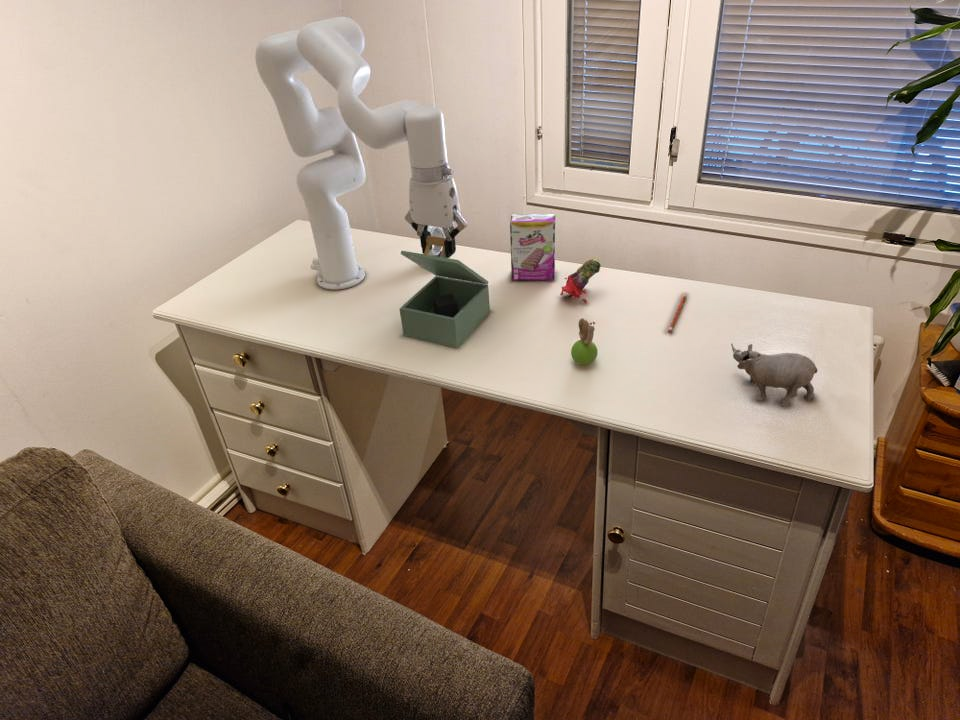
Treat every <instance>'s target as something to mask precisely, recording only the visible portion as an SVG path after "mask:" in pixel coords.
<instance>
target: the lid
mask: <svg viewBox="0 0 960 720" xmlns="http://www.w3.org/2000/svg"><path fill="white" fill-rule="evenodd" d="M445 240H446V237H445V238H440V237H434V236H427V237H426V243H427V244H426V248H425V252H424V254H423V253H419V252H412V251H408V250H401V251H400V255H402V256H403V257H405V258H406V259H408V260H410V261H411V262H413V263H415V264H416V265H418V266H420V267H421V268H422V269H424V270H425V271H428V272H429V273H431V274H433V275H434V276H441V277H446V278H452V279H457V280H463V281H468V282H474V283H479V284H485V285H488V286H489V281H488V280H487V279H486V278H485V277H483V276H481V275H480V274H479V273H477V272H476V271H474V270H473V269H471V268H470V267H469V266H468V265H466V264H465V263H463V262H462V261H461V260H459V259H455V258H450V257H449V258H444V256H445V246H444V241H445ZM431 245H432V246H434V245H435V246H436V245H437V246H442V249H441V255H440V257H437V256H431V255H428V253H429V249H430V246H431Z"/></svg>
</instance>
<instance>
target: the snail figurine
mask: <svg viewBox="0 0 960 720" xmlns="http://www.w3.org/2000/svg"><path fill="white" fill-rule="evenodd" d="M595 325H596V321H593V322H592V321H590V322H589V321H588V319H586V318H584V317H582V318H580V319H579V320H578V329H579V331H578V335H579V339H578V340H577V341H575V342H574V343H573V344H572V347H571V350H570V356H571V358H572V360H573V361H574V362H575V363H576V364H578V365H580V366H588V365H591V364H592V363H594V362H595V361H596V359H597V356H598V352H599V351H598V347H597V345H596V343H594V342H593V339H594V335H595V334H594V332H595V329H596V328H595Z"/></svg>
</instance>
